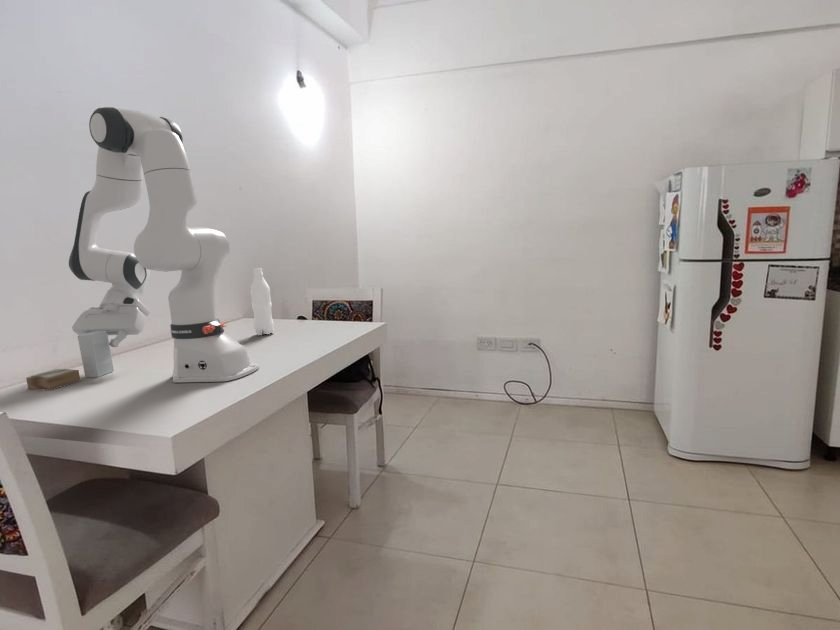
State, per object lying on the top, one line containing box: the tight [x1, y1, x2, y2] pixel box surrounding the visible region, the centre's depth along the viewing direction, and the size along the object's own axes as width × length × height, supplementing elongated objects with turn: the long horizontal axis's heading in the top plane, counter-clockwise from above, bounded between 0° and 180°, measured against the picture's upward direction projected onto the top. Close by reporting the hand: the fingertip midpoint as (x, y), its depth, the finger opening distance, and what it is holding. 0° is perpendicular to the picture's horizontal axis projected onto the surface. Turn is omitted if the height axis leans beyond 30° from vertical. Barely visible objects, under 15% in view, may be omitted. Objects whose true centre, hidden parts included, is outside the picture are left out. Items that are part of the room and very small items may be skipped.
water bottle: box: [249, 267, 275, 336], centre depth 181 cm, size 7×7×25 cm
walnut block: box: [25, 368, 81, 391], centre depth 128 cm, size 8×8×3 cm
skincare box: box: [77, 331, 115, 378], centre depth 136 cm, size 6×4×12 cm
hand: (97, 346), depth 137 cm, fingers open, 8 cm apart
